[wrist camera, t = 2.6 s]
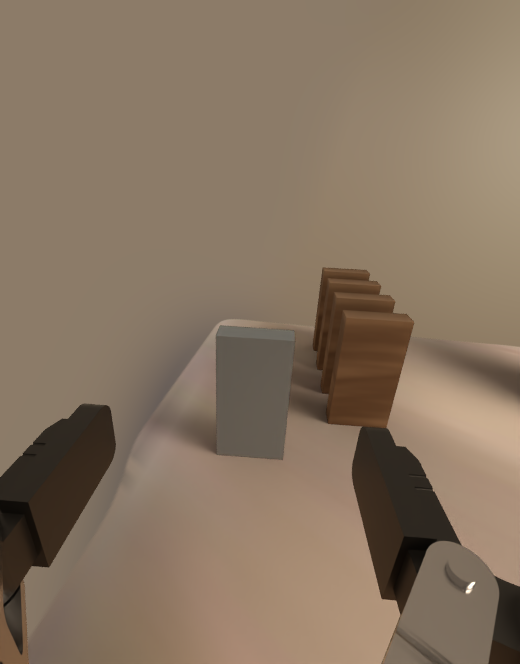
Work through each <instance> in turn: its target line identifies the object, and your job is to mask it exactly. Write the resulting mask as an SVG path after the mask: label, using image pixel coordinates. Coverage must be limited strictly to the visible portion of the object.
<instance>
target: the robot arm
mask: <svg viewBox="0 0 520 664" xmlns="http://www.w3.org/2000/svg"><path fill="white" fill-rule="evenodd" d="M115 447H116V443H115V436H114V429H113V422H112V416H111V410H110V408H109V406H107V405H95V404H82V405H80V406H79V407H78V408H77V409H76V411H75V412H74V413H73V414H72V415H71V416H70V417H69V418H68V419H61V420H60V421H58V422H56V423H55V424H53V425H52V426H50V427H48V428H47V429H45V430H44V431H43V433H42V434H41V435H40V436H39V437H38V438H37V439H36V440H35V441H34V442H33V445H30V446H29V447H28V448H27V450H26V451H25V452H24V453H23V455H22V456H20V457H19V458H18V459H17V460H16V461H15V462H14V463H13V464H12V466H11V467H10V468H9V469H8V470H7V471H6V472H5V473H4V474H3V475H2V476H1V477H0V664H29V659H28V641H27V624H26V623H27V622H26V603H25V585H24V581H23V579H24V577H25V575H26V574H27V572H28V571H29V569H30V567H31V566H39V567H49V566H50V565H51V563H52V562H53V560H54V558H55V557H56V555H57V553H58V551H59V550H60V548H61V546H62V545H63V543H64V541H65V540H66V538H67V536H68V535H69V533H70V531H71V529H72V528H73V526H74V524H75V523H76V521H77V520H78V518H79V516H80V514H81V513H82V511H83V509H84V508H85V506H86V504H87V503H88V501H89V499H90V498H91V496H92V494H93V493H94V491H95V489H96V488H97V486H98V484H99V482H100V481H101V479H102V477H103V476H104V474H105V472H106V471H107V469H108V467H109V466H110V464H111V462H112V460H113V457H114V453H115ZM352 479H353V485H354V489H355V493H356V497H357V501H358V505H359V509H360V513H361V517H362V521H363V525H364V529H365V533H366V538H367V542H368V546H369V550H370V554H371V558H372V562H373V566H374V570H375V574H376V578H377V582H378V586H379V590H380V594H381V598H382V599H387V600H397V604H398V607H399V611H400V618H399V620H398V623H397V625H396V628H395V631H394V633H393V636H392V638H391V641H390V643H389V646H388V648H387V651H386V654H385V656H384V659H383V661H382V664H520V587H519V586H516V585H514V584H511V583H509V582H506V581H504V580H502V579H499V578H497V577H496V576H494V575H493V573H492V572H491V570H490V569H489V567H488V566H487V565H486V564H485V563H484V562H483V561H482V560H481V559H480V558H479V557H478V556H477V555H476V554H475V553H473V552H472V551H470V550H469V549H467V548H465V547H464V546H462V545H461V543H460V541H459V539H458V538H457V536H456V534H455V532H454V530H453V528H452V526H451V524H450V522H449V520H448V518H447V516H446V514H445V512H444V510H443V508H442V506H441V504H440V502H439V500H438V498H437V496H436V494H435V492H433V488H432V486H431V484H430V482H429V480H428V479H427V478H426V474H425V472H424V470H423V468H422V466H421V464H420V462H419V460H418V459H417V458H416V457H415V456H414V455H413V454H412V453H411V452H410V451H409V450H408V449H407V448H406V447H400V446H396V445H395V443H394V440H393V438H392V436H391V434H390V432H389V430H388V429H387V428H376V427H364V426H363V427H362V428H361V430H360V433H359V438H358V442H357V446H356V451H355V455H354V459H353V465H352Z"/></svg>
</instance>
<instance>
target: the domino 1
mask: <svg viewBox="0 0 520 664" xmlns="http://www.w3.org/2000/svg"><path fill="white" fill-rule="evenodd" d="M294 348H295V334H294V330H280V329H265V328H250V327H235V326H220V327H219V329H218V332H217V334H216V419H217V455H228V456H241V457H254V458H267V459H280V460H283V453H284V443H285V434H286V424H287V415H288V405H289V396H290V386H291V377H292V367H293V358H294Z"/></svg>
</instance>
